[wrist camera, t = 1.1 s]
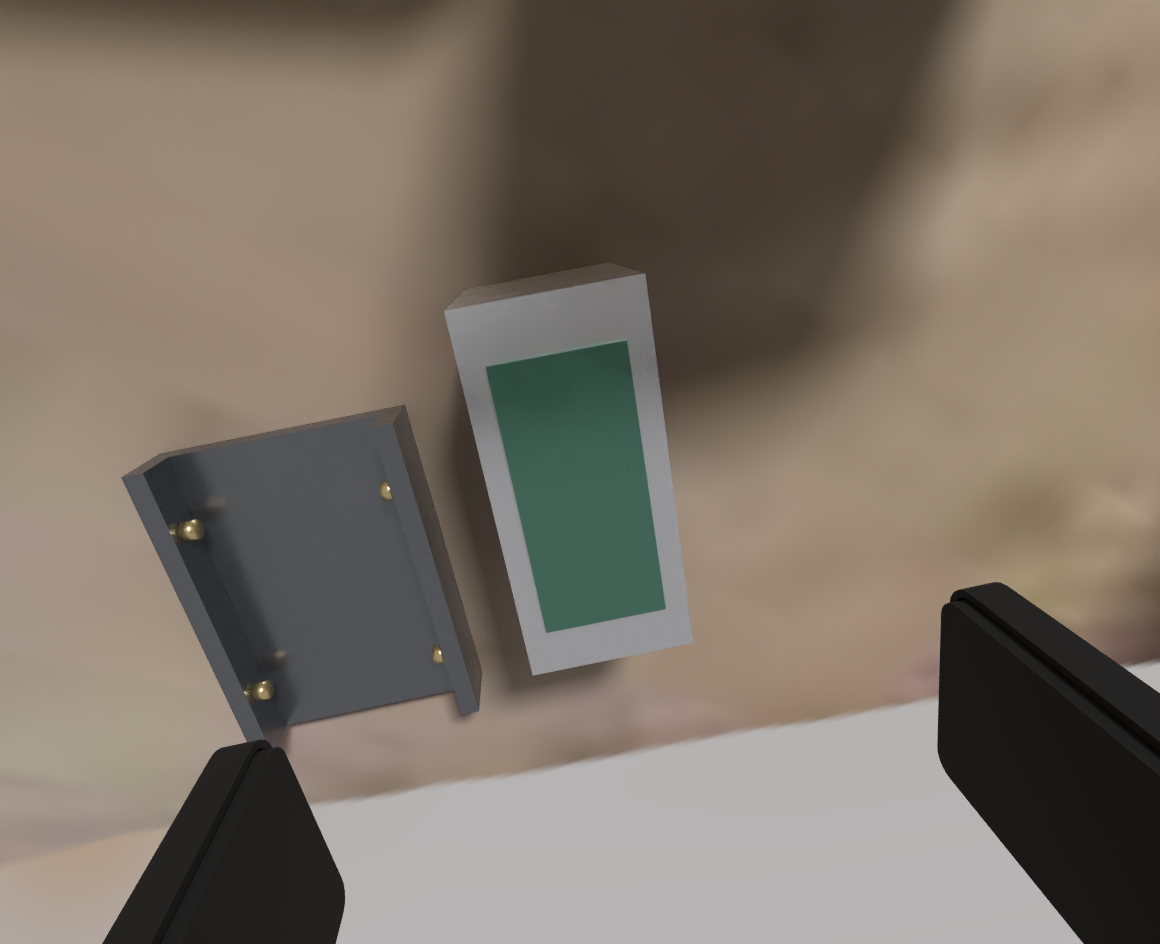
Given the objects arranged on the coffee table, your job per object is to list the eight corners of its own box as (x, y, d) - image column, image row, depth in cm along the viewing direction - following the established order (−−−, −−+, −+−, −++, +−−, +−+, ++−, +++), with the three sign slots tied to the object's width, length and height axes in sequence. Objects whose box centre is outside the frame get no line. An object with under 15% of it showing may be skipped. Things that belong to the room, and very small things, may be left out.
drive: (607, 262, 22) (646, 273, 15) (649, 540, 26) (694, 646, 19) (465, 288, 22) (443, 311, 15) (528, 564, 26) (532, 678, 19)
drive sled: (405, 404, 23) (392, 423, 21) (482, 672, 27) (478, 710, 25) (160, 453, 23) (121, 477, 21) (276, 715, 27) (255, 758, 25)
